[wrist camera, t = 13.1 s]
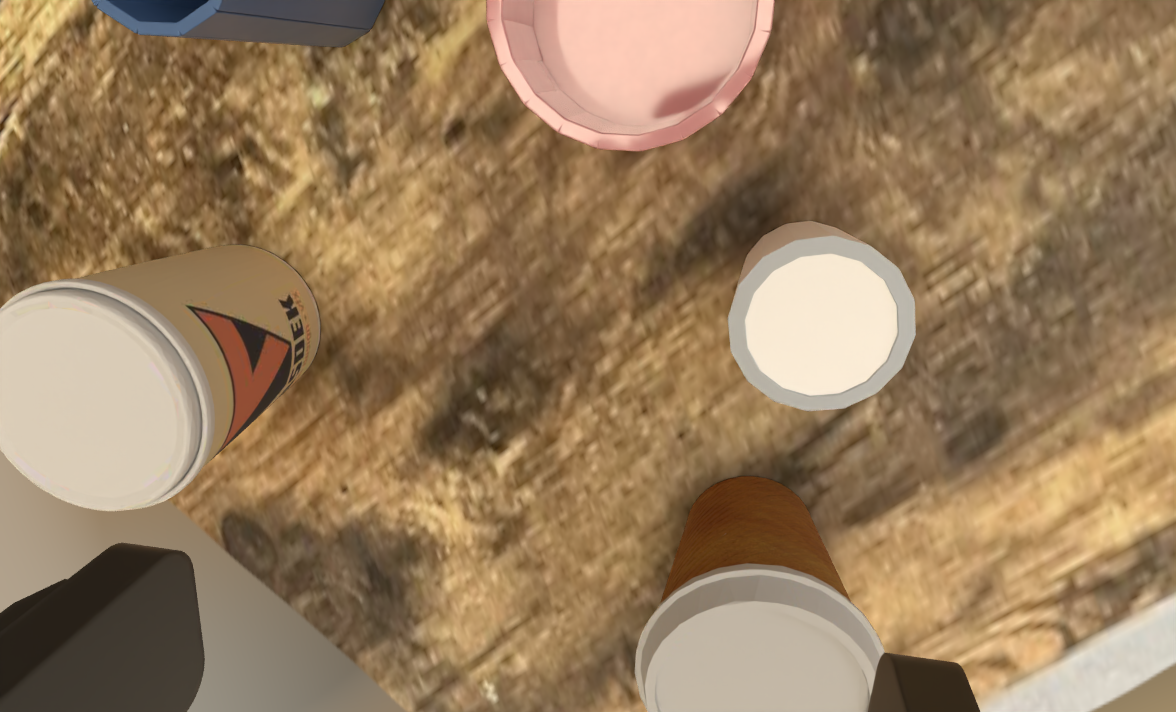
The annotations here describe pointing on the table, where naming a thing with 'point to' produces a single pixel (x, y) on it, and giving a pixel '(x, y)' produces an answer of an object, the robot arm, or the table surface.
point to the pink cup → (628, 63)
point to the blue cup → (249, 19)
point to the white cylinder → (819, 317)
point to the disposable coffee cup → (755, 614)
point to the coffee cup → (147, 370)
